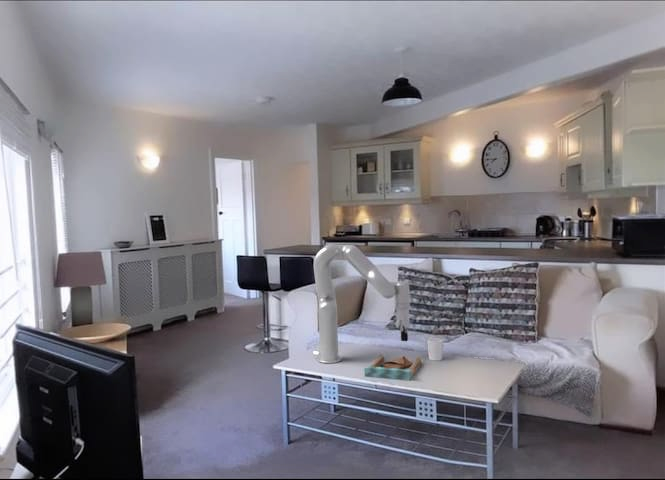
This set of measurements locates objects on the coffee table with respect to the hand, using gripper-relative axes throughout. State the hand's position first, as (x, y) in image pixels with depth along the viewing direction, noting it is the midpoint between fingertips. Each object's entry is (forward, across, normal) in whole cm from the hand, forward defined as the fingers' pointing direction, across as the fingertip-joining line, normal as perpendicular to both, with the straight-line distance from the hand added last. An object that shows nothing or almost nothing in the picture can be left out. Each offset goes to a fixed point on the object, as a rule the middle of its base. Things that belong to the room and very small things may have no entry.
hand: (404, 340), depth 255 cm
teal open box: (+9, +21, -1) cm, 23 cm away
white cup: (+10, -2, +15) cm, 18 cm away
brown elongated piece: (+10, +17, 0) cm, 20 cm away
